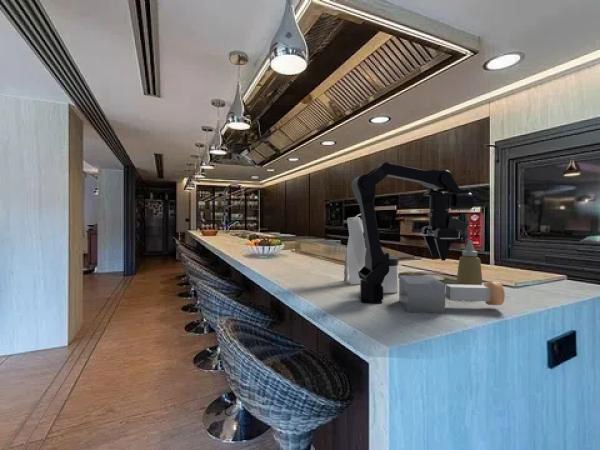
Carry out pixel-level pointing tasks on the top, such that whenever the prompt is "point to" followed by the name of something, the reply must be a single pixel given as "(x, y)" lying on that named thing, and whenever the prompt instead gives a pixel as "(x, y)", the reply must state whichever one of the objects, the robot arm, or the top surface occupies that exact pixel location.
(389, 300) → the top surface
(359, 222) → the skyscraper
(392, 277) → the jar
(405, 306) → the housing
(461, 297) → the white and tan bar
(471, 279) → the squeeze bottle
